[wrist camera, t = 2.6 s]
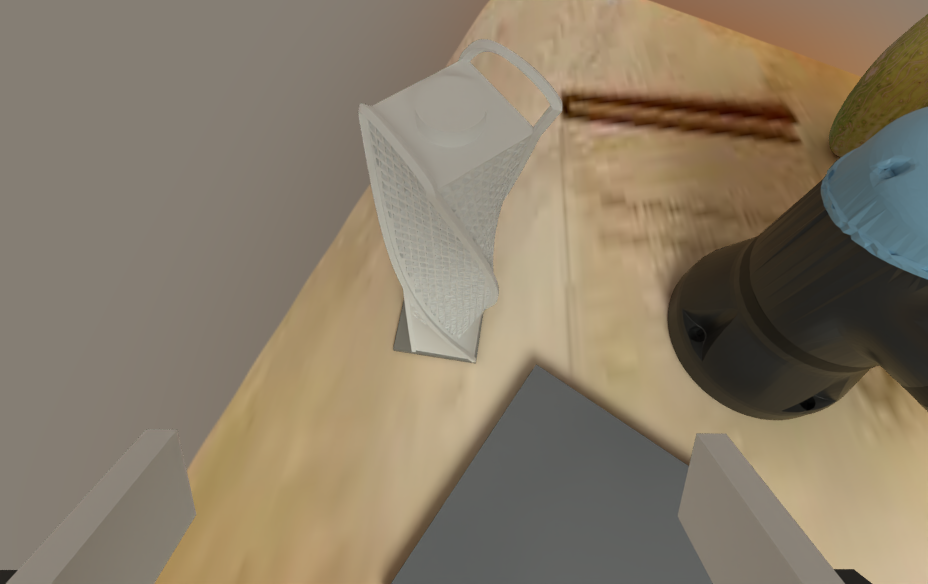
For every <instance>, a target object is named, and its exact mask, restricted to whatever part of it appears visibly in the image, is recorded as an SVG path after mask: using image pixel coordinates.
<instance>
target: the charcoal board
mask: <svg viewBox="0 0 928 584" xmlns="http://www.w3.org/2000/svg"><path fill="white" fill-rule="evenodd" d="M688 468H689V466H688V465H686V464H685V463H683V462H682V461H680V460H679V459H677V458H676V457H674V456H673V455H671V454H670V453H668V452H667V451H665V450H664V449H662V448H661V447H659V446H658V445H656V444H655V443H653V442H652V441H650V440H649V439H647V438H646V437H644V436H643V435H641V434H640V433H638V432H637V431H635V430H634V429H632V428H631V427H629V426H628V425H626V424H625V423H623V422H622V421H620V420H619V419H617V418H616V417H614V416H613V415H611V414H610V413H608V412H607V411H605V410H604V409H602V408H601V407H599V406H598V405H596V404H595V403H593V402H592V401H590V400H589V399H587V398H586V397H584V396H583V395H581V394H580V393H578V392H577V391H575V390H574V389H572V388H571V387H569V386H568V385H566V384H565V383H563V382H562V381H560V380H559V379H557V378H556V377H554V376H553V375H551V374H550V373H548V372H547V371H545V370H544V369H542V368H541V367H539V366H538V365H536V366H535V367H534V369H533V370H532V372H531V373H530V375H529V376H528V378H527V379H526V381H525V382H524V384H523V385H522V387H521V388H520V390H519V391H518V393H517V394H516V396H515V397H514V399H513V400H512V402H511V403H510V405H509V406H508V408H507V409H506V411H505V412H504V414H503V415H502V417H501V418H500V420H499V421H498V423H497V424H496V426H495V427H494V429H493V430H492V432H491V434H490V435H489V437H488V438H487V440H486V441H485V443H484V444H483V446H482V447H481V449H480V450H479V452H478V453H477V455H476V456H475V458H474V459H473V461H472V462H471V464H470V465H469V467H468V468H467V470H466V471H465V473H464V474H463V476H462V477H461V479H460V480H459V482H458V483H457V485H456V486H455V488H454V489H453V491H452V492H451V494H450V495H449V497H448V498H447V500H446V501H445V503H444V504H443V506H442V507H441V509H440V510H439V512H438V513H437V515H436V517H435V518H434V520H433V521H432V523H431V524H430V526H429V527H428V529H427V530H426V532H425V533H424V535H423V536H422V538H421V539H420V541H419V542H418V544H417V545H416V547H415V548H414V550H413V551H412V553H411V554H410V556H409V557H408V559H407V560H406V562H405V563H404V565H403V566H402V568H401V569H400V571H399V572H398V574H397V575H396V577H395V578H394V580H393V581H392V583H391V584H713V583H712V581H711V579H710V577H709V575H708V573H707V571H706V569H705V568H704V566H703V564H702V562H701V560H700V558H699V556H698V554H697V552H696V550H695V549H694V547H693V545H692V543H691V541H690V539H689V537H688V535H687V533H686V531H685V530H684V528H683V526H682V524H681V522H680V520H679V518H678V512H679V507H680V503H681V499H682V494H683V490H684V486H685V481H686V477H687V473H688Z"/></svg>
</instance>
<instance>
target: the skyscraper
mask: <svg viewBox="0 0 928 584" xmlns="http://www.w3.org/2000/svg"><path fill="white" fill-rule="evenodd" d="M481 52H493V53H496V54H498V55H501V56H502V57H504V58H505V59H507V60H508V61H509V62H511V63H512V64H513V65H515V66H516V67H517V68H518V69H520V70H521V71H522V72H523V73H524V74H525V75H526V76H527V77H528V78H529V79H530V80H531V81H532V82H533V83H534V84H535V85H536V86H537V87H538V88H539V89H540V90H541V92H542V93H543V94H544V95H545V97H546V98H547V100H548V101H549V103H550V107H549V108H548V109H547V110H546V112H545V113H544V114H543V115H542V117H541V118H540V119H539V120H538V122H537V123H536V124H535V126H534V127H533V126H532V125H531V124H530V123H529V122H528V121H527V120H526V119H525V118H524V117H523V116H522V115H521V114H520V113H519V112H518V111H517V110H516V109H515V108H514V107H513V106H512V105H511V104H510V103H509V102H508V101H507V100H506V99H505V98H504V97H503V96H502V95H501V94H500V92H499V91H498V90H497V89H496V88H495V87H494V86H493V85H492V84H491V83H490V82H489V81H488V80H487V79H486V78H485V77H484V76H483V75H482V74H481V73H480V72H479V71H478V70H477V69H476V68H475V67H474V66H473V65H472V64H471V63H470V61H471V60H472V59H473V58H474V57H475V56H476V55H477V54H479V53H481ZM561 112H562V101H561V99H560V97H559V96H558V94H557V92H556V91H555V90H554V88H553V87H552V86H551V85H550V83H549V82H548V81H547V80H546V79H545V78H544V77H543V76H542V75H541V74H540V73H539V72H538V71H537V70H536V69H535V68H534V67H532V66H531V65H530V64H529V63H528V62H526V61H525V60H524V59H523V58H521V57H520V56H518V55H517V54H516V53H514V52H513V51H511V50H510V49H508V48H506V47H504V46H503V45H501V44H499V43H497V42H494V41H492V40H488V39H480V40H476V41H474V42H473V43H471V44H470V45H469V46H468V47H467V48H466V49H465V50H464V51H463V52H462V54H461V56H460V58H459V60H458V62H456V63H454V64H452V65H450V66H448V67H446V68H444V69H442V70H440V71H438V72H437V73H435V74H433V75H431V76H429V77H427V78H425V79H423V80H421V81H419V82H417V83H415V84H413V85H411V86H409V87H408V88H406V89H404V90H402V91H400V92H398V93H396V94H394V95H392V96H390V97H388V98H386V99H384V100H382V101H381V102H378V103H377V104H375V105H373V106H369V105H366V104H363V103H360V106H359V111H358V116H359V122H360V127H361V133H362V139H363V145H364V150H365V156H366V161H367V166H368V172H369V176H370V182H371V188H372V193H373V197H374V202H375V206H376V211H377V215H378V220H379V224H380V227H381V231H382V235H383V238H384V242H385V246H386V249H387V252H388V254H389V257H390V260H391V263H392V266H393V268H394V270H395V273H396V275H397V277H398V280H399V282H400V284H401V286H402V288H403V292H404V302H403V306H402V311H401V316H400V320H399V325H398V329H397V334H396V338H395V343H394V348H393V350H394V351H400V352H406V353H413V354H419V355H425V356H432V357H438V358H444V359H451V360H457V361H463V362H470V363H476V358H477V351H478V345H479V338H480V331H481V324H482V318H483V311H484V310H485V309H487V308H490V307H492V306H493V305H494V304H495V303H496V302H497V299H498V294H499V287H498V283H497V280H496V277H495V275H494V273H493V251H494V240H495V233H496V227H497V222H498V217H499V213H500V210H501V206H502V203H503V201H504V199H505V198H506V196H507V195H508V193H509V192H510V190H511V188H512V187H513V185H514V183H515V182H516V180H517V178H518V177H519V175H520V173H521V171H522V170H523V168H524V166H525V164H526V162H527V160H528V159H529V157H530V155H531V153H532V151H533V149H534V147H535V145H536V144H537V142H538V140H539V138H540V136H541V135H542V134H543V133H544V132H545V130H546V129H547V128H548V127H549V126H550V125H551V123H552V122H553V121H554V120H555V119H556V117H557V116H558V115H559V114H560V113H561Z"/></svg>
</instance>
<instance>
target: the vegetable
mask: <svg viewBox="0 0 928 584" xmlns="http://www.w3.org/2000/svg"><path fill="white" fill-rule="evenodd" d="M924 107H928V14H927V15H926V16H925V17H923V18H922V19H921V20H920V21H918V22H917V23H916V24H915V25H913V26H912V27H911V28H910V29H909V30H908V31H907V32H905V33H904V34H903V35H902V36H901V37H899V38H898V39H897V40H896V41H895V42H894V43H893V44H892V45H891V46H889V47H888V48H887V49H886V50H885V51H884V52H883V53H882V55H880V57H879V58H878V59H877V60H876V61H875V62H874V63H873V64H872V65H871V67H870V68H869V69H868V70H867V71H866V73H865V74H864V75H863V77H862V78H861V79H860V80H859V82H858V83H857V85H856V86H855V87H854V89H853V90H852V91H851V93H850V94H849V95H848V97H847V99H846V100H845V102H844V104H843V105H842V107H841V109H840V110H839V112H838V114H837V116H836V118H835V120H834V122H833V125H832V127H831V130H830V134H829V145H830V148H831V150H832V152H833V153H834V154H835V155H837V156H838V157H842V156H844V155H845V154H847V153H849V152H850V151H852V150H854V149H856V148H858V147H860V146H861V145H862V144H864V143H865V142H866V141H867V140H869V139H870V138H871V137H872V136H874V135H875V134H876V133H878V132H879V131H880V130H881V129H883V128H884V127H885V126H887V125H888V124H890V123H891V122H893V121H894V120H896V119H898V118H900V117H901V116H903V115H905V114H908V113H910V112H913V111H915V110H918V109H921V108H924Z"/></svg>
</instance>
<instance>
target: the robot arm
mask: <svg viewBox="0 0 928 584" xmlns="http://www.w3.org/2000/svg"><path fill="white" fill-rule="evenodd" d="M668 325H669V332H670V337H671V341H672V344H673V347H674V349H675V352H676V354H677V356H678V358H679V360H680V362H681V364H682V365H683V367H684V368H685V370H686V371H687V373H688V374H689V375H690V376H691V378H692V379H693V380H694V381H695V382H696V383H697V384H698V385H699V386H700V387H701V388H702V389H703V390H704V391H705V392H706V393H707V394H708V395H710V396H711V397H712V398H714V399H715V400H717V401H718V402H720V403H721V404H723V405H725V406H726V407H728V408H730V409H732V410H734V411H737V412H739V413H742V414H744V415H747V416H751V417H755V418H760V419H767V420H786V419H793V418H797V417H801V416H804V415H808V414H812V413H815V412H818V411H821V410H823V409H825V408H827V407H829V406H831V405H832V404H834V403H835V402H837V401H838V400H839V399H841V398H842V397H843V396H844V395H845V394H846V393H847V392H848V391H849V390H850V389H851V388H852V387H853V386H854V385H855V384H856V383H857V382H858V381H859V380H860V379H861V378H862V377H863V376H864V375H865V374H866V373H867V372H868V371H869V369H870V368H873V367H875V366H878V365H880V366H881V367H883V368H884V369H885V370H886V371H887V372H888V373H889V374H890V375H891V376H892V377H893V378H894V379H895V380H896V381H897V382H898V383H899V384H900V385H901V386H902V387H903V388H905V389H906V390H907V391H908V392H909V393H910V394H911V395H912V396H913V397H914V398H915V399H916V400H917V401H918V402H919V403H920V404H921V405H922V406H923V407H924V408H925V409H926V410H927V411H928V107H924V108H921V109H918V110H915V111H913V112H910V113H908V114H905V115H903V116H901V117H900V118H898V119H896V120H894V121H893V122H891V123H890V124H888V125H887V126H885V127H884V128H883V129H881V130H880V131H879V132H878V133H876V134H875V135H874V136H872V137H871V138H870V139H869V140H867V141H866V142H865V143H864V144H862V145H861V146H860V147H858V148H856V149H854V150H852V151H850V152H849V153H847V154H845V155H844V156H842V157H841V158H840V159H838V160H837V161H836V162H835V163H834V164H833V165H832V166H831V167H830V169H829V170H828V171H827V174H826V176H825V177H824V179H823V180H822V181H821V182H820V183H818V184H817V185H816V186H815V187H814V188H813V189H811V190H810V191H809V192H808V193H807V194H806V195H805V196H803V197H802V198H801V199H800V200H799V201H798V202H796V203H795V204H794V205H793V206H792V207H791V208H790V209H788V210H787V211H786V212H785V213H784V214H783V215H781V216H780V217H779V218H778V219H777V220H776V221H775V222H773V223H772V224H771V225H770V226H769V227H768V228H766V229H765V230H764V231H763V232H762V233H761V234H760V235H759V236H758V237H755V238H751V239H748V240H745V241H742V242H739V243H736V244H733V245H730V246H727V247H724V248H721V249H718V250H716V251H714V252H712V253H710V254H708V255H706V256H705V257H703V258H702V259H701V260H699V261H698V262H697V263H696V264H695V265H694V266H693V267H692V268H691V269H690V270H689V271H688V272H687V273H686V274H685V275H684V276H683V277H682V278H681V280H680V281H679V282H678V284H677V285H676V287H675V289H674V291H673V294H672V297H671V300H670V304H669V311H668ZM195 516H196V511H195V507H194V502H193V498H192V493H191V489H190V484H189V479H188V475H187V470H186V466H185V461H184V457H183V452H182V448H181V444H180V439H179V434H178V430H177V429H171V430H170V429H169V430H168V429H146V430H145V431H144V433H142V435H141V436H140V437H139V438H138V439H137V440H136V441H135V442H134V443H133V444H132V446H131V447H130V448H129V449H128V450H127V451H126V452H125V453H124V454H123V455H122V456H121V458H120V459H119V460H118V461H117V462H116V463H115V464H114V466H112V468H111V469H110V470H109V471H108V472H107V473H106V474H105V475H104V476H103V477H102V479H101V480H100V481H99V482H98V483H97V484H96V485H95V486H94V487H93V488H92V489H91V491H90V492H89V493H88V494H87V495H86V496H85V497H84V498H83V499H82V500H81V502H80V503H79V504H78V505H77V506H76V507H75V508H74V509H73V510H72V511H71V513H70V514H69V515H68V516H67V517H66V518H65V519H64V520H63V521H62V522H61V523H60V525H59V526H58V527H57V528H56V529H55V530H54V531H53V532H52V533H51V535H50V536H49V537H48V538H47V539H46V540H45V541H44V542H43V543H42V544H41V545H40V547H39V548H38V549H37V550H36V551H35V552H34V553H33V554H32V555H31V556H30V557H29V559H28V560H27V561H26V562H25V563H24V564H23V565H22V566H21V567H20V569H19V570H0V584H154V583H155V581H156V580H157V578H158V576H159V575H160V573H161V571H162V570H163V568H164V566H165V565H166V563H167V562H168V560H169V558H170V557H171V555H172V553H173V552H174V550H175V548H176V547H177V545H178V543H179V542H180V540H181V539H182V537H183V535H184V534H185V532H186V530H187V529H188V527H189V525H190V524H191V522H192V521H193V519H194V517H195ZM678 518H679V520H680V522H681V524H682V526H683V528H684V530H685V531H686V533H687V535H688V537H689V539H690V541H691V543H692V545H693V547H694V549H695V550H696V552H697V554H698V556H699V558H700V560H701V562H702V564H703V566H704V568H705V569H706V571H707V573H708V575H709V577H710V579H711V581H712V583H713V584H872V583H871V582H869V581H868V580H867V579H865V578H864V577H863V576H862V575H860V574H859V573H858V572H856V571H855V570H854V569H833V568H832V567H831V565H830V564H829V563H828V562H827V560H826V559H825V558H824V557H823V555H822V554H821V553H820V552H819V550H818V549H817V548H816V547H815V545H814V544H813V543H812V542H811V540H810V539H809V538H808V536H807V535H806V534H805V533H804V531H803V530H802V529H801V528H800V526H799V525H798V524H797V523H796V521H795V520H794V519H793V518H792V516H791V515H790V514H789V513H788V511H787V510H786V509H785V507H784V506H783V505H782V504H781V502H780V501H779V500H778V499H777V497H776V496H775V495H774V494H773V492H772V491H771V490H770V489H769V487H768V486H767V485H766V484H765V482H764V481H763V480H762V479H761V477H760V476H759V475H758V473H757V472H756V471H755V470H754V468H753V467H752V466H751V465H750V463H749V462H748V461H747V460H746V458H745V457H744V456H743V455H742V453H741V452H740V451H739V450H738V448H737V447H736V446H735V445H734V443H733V442H732V441H731V439H730V438H729V437H728V436H727V434H696V438H695V442H694V447H693V451H692V455H691V460H690V464H689V468H688V473H687V477H686V481H685V486H684V490H683V494H682V499H681V503H680V507H679V512H678Z"/></svg>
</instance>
